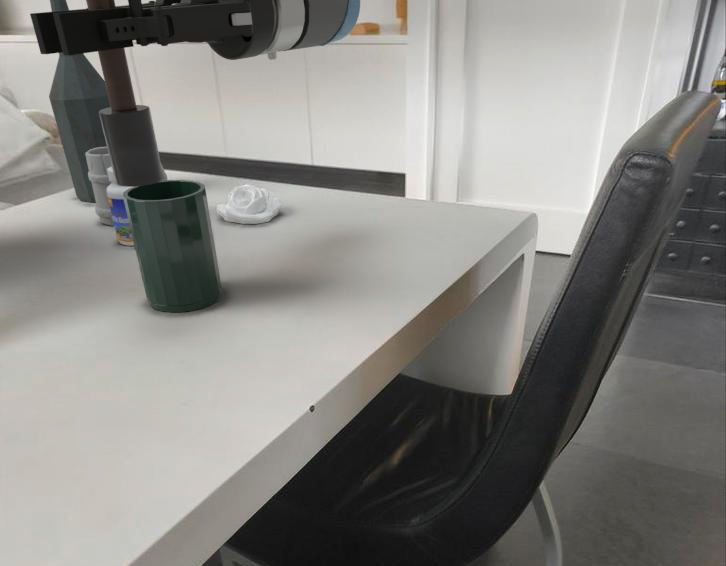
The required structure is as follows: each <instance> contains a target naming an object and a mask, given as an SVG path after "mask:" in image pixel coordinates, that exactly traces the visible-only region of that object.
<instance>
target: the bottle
mask: <svg viewBox="0 0 726 566" xmlns="http://www.w3.org/2000/svg"><path fill="white" fill-rule="evenodd" d="M49 3H50V9H51V12H55V11H67V10H70V9H69V5H68V2H67V0H49ZM49 90H50V91H49V95H48V98H49V102H50V106H51V109H52V113H53V116H54V120H55V123H56V127H57V130H58V131H57V132H58V134H59V138H60V142H61V145H62V149H63V152H64V156H65V161H66V163H67V166H68V170H69V175H70V178H71V181H72V184H73V185H72V186H73V189H74V193H75V196H76V197H77V199H79V200H80V202H87V203H93V204H94V203H96V200H95V196H94V191H93V187H92V182H91V181H90V180H89V177H88V172H89V169H88V164H87V160H86V155H85V153H86V152H88V151H89V150H91V149H94V148H98V147H107V144H106V140H105V136H104V132H103V128H102V124H101V119H100V115H99V111H100V110H102V109H105V108H109V107H111V106H110V102H109V97H108V93H107V89H106V84H105V80H104V77H103V76H102V75H101V74H100V73H99V72H98V71H97V69H96V68H95V66H93V64H92V63H91V61H90V60H89V59H88V58H87V56H86V55H85V53H82V54H75V55H63V52H60V53H58V60H57V63H56V67H55V71H54V75H53V79H52V82H51V87H50V89H49Z"/></svg>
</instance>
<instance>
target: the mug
mask: <svg viewBox="0 0 726 566" xmlns="http://www.w3.org/2000/svg"><path fill="white" fill-rule="evenodd" d="M85 155H86V160H87V164H88V169H89V172H88V177H89V180H90V181H91V182H92V187H93V191H94V196H95V200H96V202H95V205H94V210H95V211H94V212H95V214H96V216H98V218H99V222H100V223H101V224H102V225H107V226H114V222H113V218H112V214H111V210H110V205H109V201H108V197H107V192H106V190H107V187H108V186H109V185H110V184H111V181H110V180H109V177H108V173H107V169H108V168H109V167H112V165H111V161H110V157H109V153H108V148H107V147H98V148H94V149H91V150H89V151H88V152H86V153H85ZM161 167H162V172H163V177H164V178H163V180H161V181H166V180H169V179H168V175H167V173H166V171H165V169H164V166H163V164H162V163H161Z"/></svg>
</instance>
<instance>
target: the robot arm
mask: <svg viewBox="0 0 726 566" xmlns="http://www.w3.org/2000/svg"><path fill="white" fill-rule="evenodd" d="M127 2H128V4H126V5H115V6H116V8H111V9H99V10H88V7H85V8H81V9H69V10H67V11H55V12H52V11H45V12H44V11H43V12H33V13H29V16H30V19H31V23H32V27H33V30H34V34H35V37H36V41H37V45H38V49H39V51H40V52H39V53H40V55H53V54H59V53H60V52H63V55H75V54H82V53H84V54H88V53H95V52H97V53H98V51H104V50H112V49H119V48H124V49H126V48H132V47H135V46H134V41H135V43H136V45H137V46H138V45H140V47H147V46H149V45H151V44H157V45H160V46H161V47H168V45H170V44H171V45H172V44H179V43H192V44H194V43H195V44H197V43H198V44H200V43H207V45H208V46H209V47H210V48H211V49H212V50H213V52H214V53H216V54H217V55H218V56H219V57H221V58H223V59H226V60H229V61H237V60H243V59H248V58H253V57H254V58H255V57H258V56H262V55H263V56H264V55H267V58H268V60H270V61H272V60H276V59H277V54H278V53H277V52H280V53H281V52H287V51H292V50H293V51H294V50H301V49H307V48H313V47H320V46H321V47H324V46H326V45H328V44H330V43H334V42H337V41H340V40H342V39H345V37H347V36H348V35H349V34H351V32H352V31H353V29H354V28H355V26H356V24H357V22H358V20H359V16H360V10H361V0H149V1H148V2H145V3H142V0H127Z"/></svg>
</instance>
